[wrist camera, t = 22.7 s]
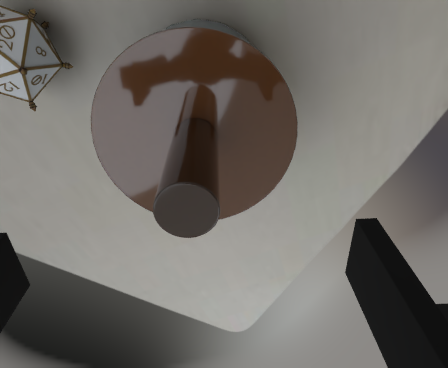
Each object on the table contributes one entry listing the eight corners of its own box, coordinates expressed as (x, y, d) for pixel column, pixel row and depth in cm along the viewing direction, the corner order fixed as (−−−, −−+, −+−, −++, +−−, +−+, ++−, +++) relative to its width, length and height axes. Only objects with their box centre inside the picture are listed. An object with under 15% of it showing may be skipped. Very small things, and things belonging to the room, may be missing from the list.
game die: (31, 25, 35) (-64, -53, 25) (102, 51, 33) (31, -21, 23) (-6, 104, 34) (-117, 57, 24) (64, 134, 33) (-24, 97, 23)
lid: (301, 20, 21) (364, 42, 12) (287, 209, 28) (321, 308, 20) (73, 29, 21) (-28, 58, 12) (117, 217, 28) (73, 319, 20)
